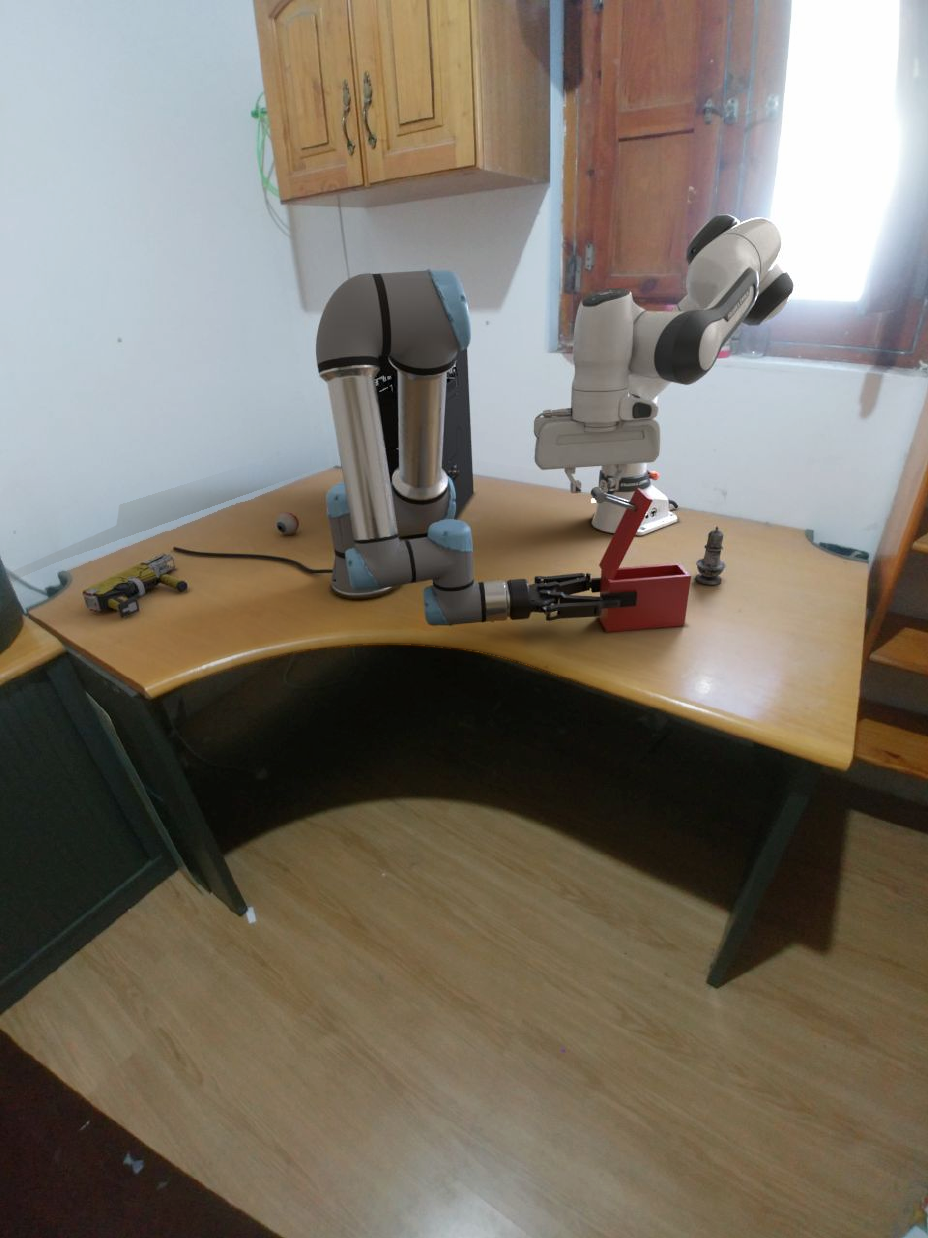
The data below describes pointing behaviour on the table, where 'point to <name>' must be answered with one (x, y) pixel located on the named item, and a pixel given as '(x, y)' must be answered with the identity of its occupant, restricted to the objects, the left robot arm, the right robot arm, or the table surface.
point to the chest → (647, 597)
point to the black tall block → (455, 426)
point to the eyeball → (287, 523)
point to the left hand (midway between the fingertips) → (630, 590)
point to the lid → (622, 527)
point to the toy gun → (131, 586)
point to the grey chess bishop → (711, 560)
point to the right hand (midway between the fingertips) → (594, 490)
